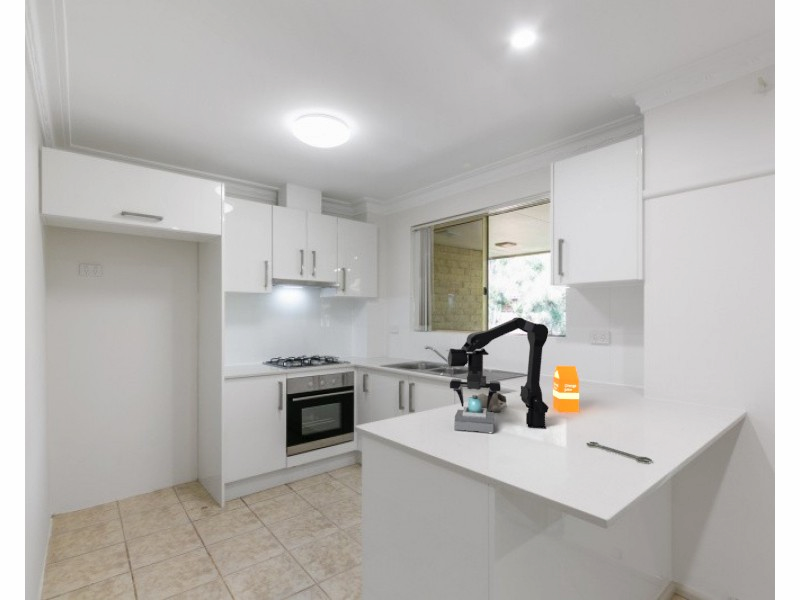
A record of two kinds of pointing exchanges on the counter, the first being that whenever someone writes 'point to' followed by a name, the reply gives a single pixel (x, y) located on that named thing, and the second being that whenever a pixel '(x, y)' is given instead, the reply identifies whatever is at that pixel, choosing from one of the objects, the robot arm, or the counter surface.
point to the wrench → (620, 453)
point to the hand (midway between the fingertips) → (475, 407)
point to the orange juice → (566, 389)
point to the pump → (475, 404)
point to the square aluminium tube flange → (474, 420)
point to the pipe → (494, 402)
